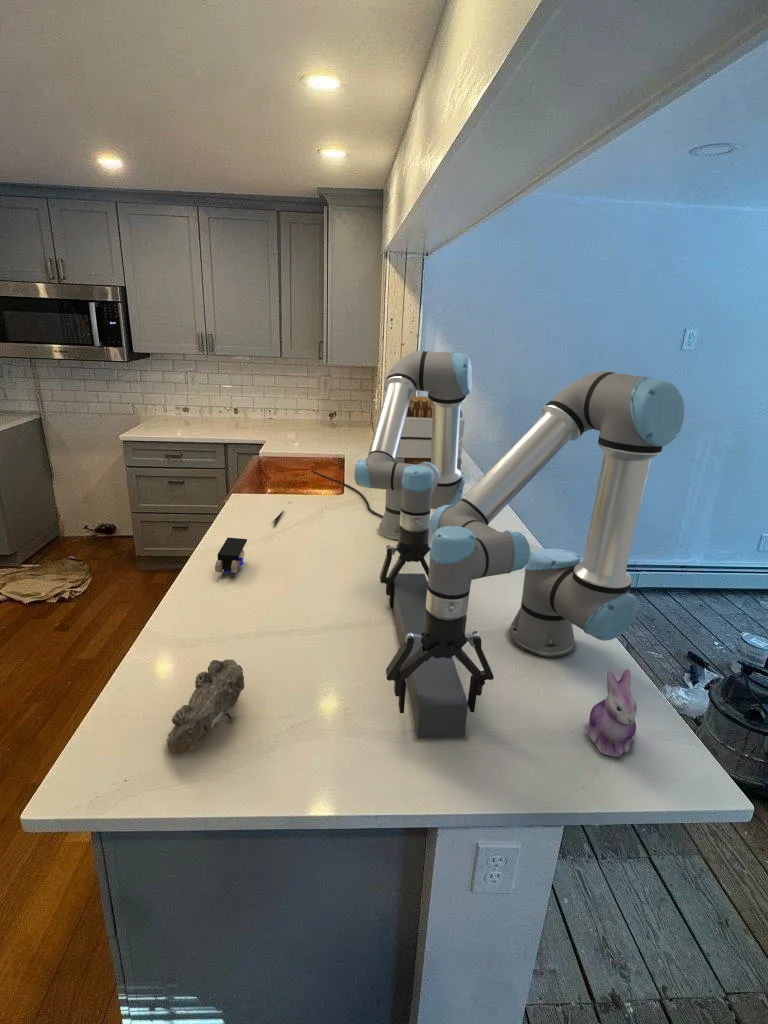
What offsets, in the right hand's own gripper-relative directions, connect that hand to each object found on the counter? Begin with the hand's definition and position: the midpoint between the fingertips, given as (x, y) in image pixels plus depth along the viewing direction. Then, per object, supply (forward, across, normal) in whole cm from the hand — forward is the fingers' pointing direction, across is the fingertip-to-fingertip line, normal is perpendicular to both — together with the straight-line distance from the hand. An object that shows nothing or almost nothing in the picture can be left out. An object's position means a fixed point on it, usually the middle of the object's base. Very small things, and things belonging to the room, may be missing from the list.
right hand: (436, 708), depth 109 cm
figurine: (+2, +32, -7) cm, 33 cm away
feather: (+2, -39, +114) cm, 121 cm away
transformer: (+2, +21, +174) cm, 175 cm away
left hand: (+2, 0, +44) cm, 44 cm away
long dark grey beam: (+2, 0, +22) cm, 22 cm away
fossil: (+3, -43, +2) cm, 43 cm away
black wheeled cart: (+3, -50, +66) cm, 83 cm away
